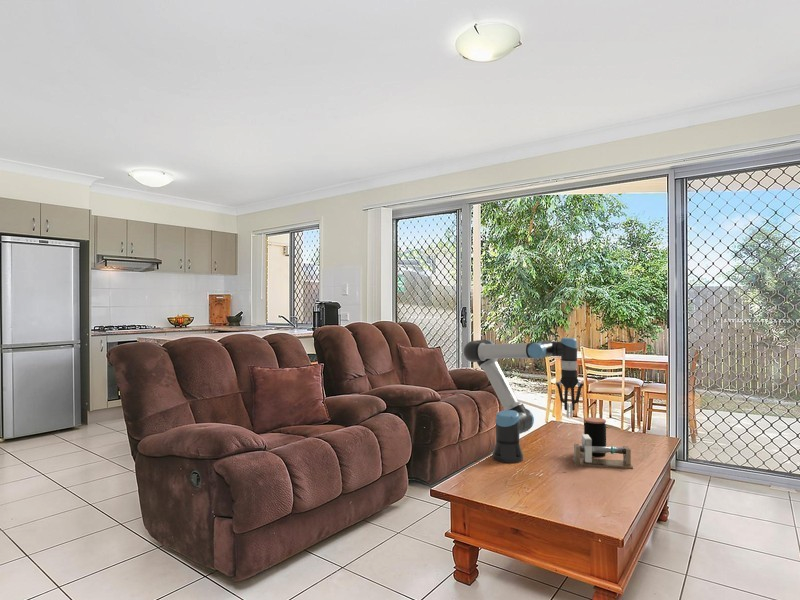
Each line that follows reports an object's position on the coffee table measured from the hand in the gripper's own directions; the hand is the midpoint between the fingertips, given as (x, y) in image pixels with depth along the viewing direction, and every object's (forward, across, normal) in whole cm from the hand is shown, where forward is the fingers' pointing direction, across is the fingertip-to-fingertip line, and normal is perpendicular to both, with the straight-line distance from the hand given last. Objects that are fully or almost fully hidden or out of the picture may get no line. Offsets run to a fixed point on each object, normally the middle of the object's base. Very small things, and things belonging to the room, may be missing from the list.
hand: (569, 416), depth 251 cm
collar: (+20, +8, 0) cm, 22 cm away
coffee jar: (+23, +15, +17) cm, 32 cm away
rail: (+22, +15, 0) cm, 27 cm away
